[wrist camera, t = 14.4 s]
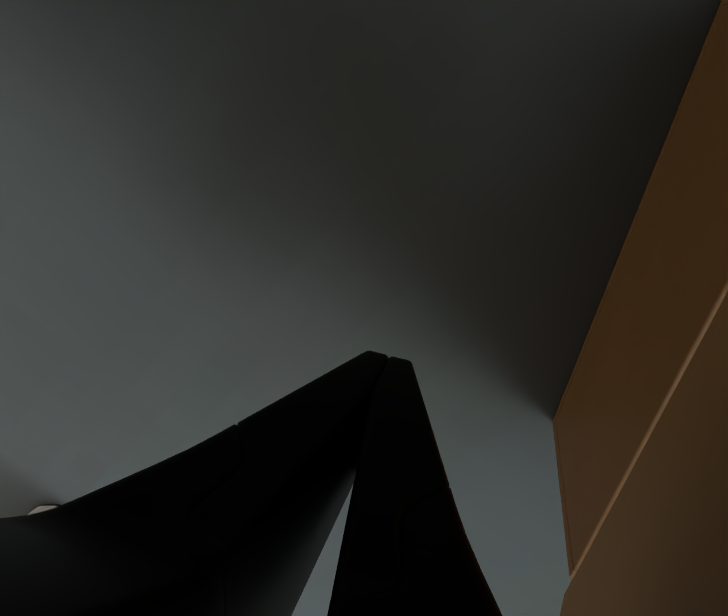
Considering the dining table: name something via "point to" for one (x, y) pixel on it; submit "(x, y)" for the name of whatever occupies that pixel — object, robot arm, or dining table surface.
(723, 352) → the flap
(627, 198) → the dining table surface
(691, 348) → the cardboard box
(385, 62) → the dining table surface
